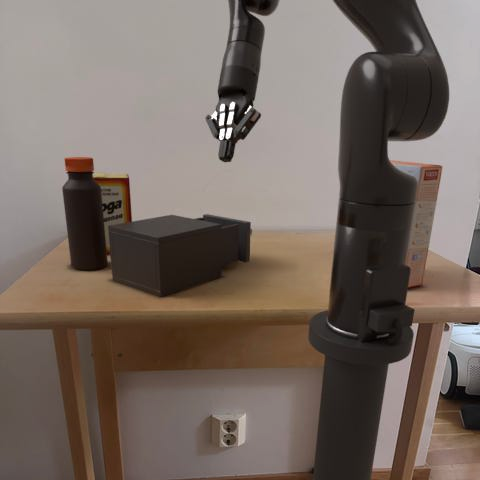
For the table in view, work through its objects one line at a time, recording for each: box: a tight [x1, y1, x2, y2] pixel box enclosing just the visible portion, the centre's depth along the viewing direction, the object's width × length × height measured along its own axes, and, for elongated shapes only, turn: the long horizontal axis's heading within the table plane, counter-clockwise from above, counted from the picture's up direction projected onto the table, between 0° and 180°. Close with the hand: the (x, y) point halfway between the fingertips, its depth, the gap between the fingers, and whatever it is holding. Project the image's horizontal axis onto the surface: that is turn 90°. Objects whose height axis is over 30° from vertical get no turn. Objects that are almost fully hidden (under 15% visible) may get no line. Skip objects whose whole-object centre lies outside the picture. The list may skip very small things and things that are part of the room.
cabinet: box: [108, 214, 222, 298], centre depth 86 cm, size 15×13×10 cm
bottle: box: [61, 156, 108, 271], centre depth 91 cm, size 7×7×20 cm
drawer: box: [195, 213, 253, 268], centre depth 95 cm, size 18×12×8 cm, turn 140°
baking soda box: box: [93, 172, 133, 255], centre depth 103 cm, size 10×6×16 cm
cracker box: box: [389, 159, 443, 289], centre depth 87 cm, size 14×6×21 cm, turn 32°
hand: (224, 160), depth 95 cm, fingers closed
